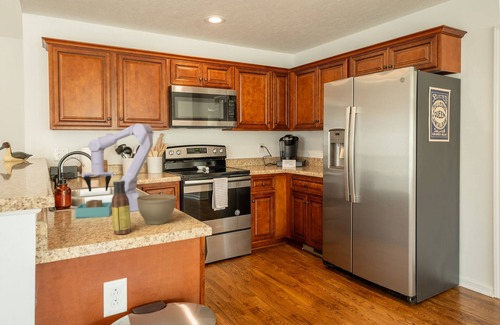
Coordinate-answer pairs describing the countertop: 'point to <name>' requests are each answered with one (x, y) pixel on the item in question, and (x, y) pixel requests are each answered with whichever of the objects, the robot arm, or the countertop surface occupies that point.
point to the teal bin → (93, 211)
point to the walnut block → (94, 203)
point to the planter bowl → (156, 207)
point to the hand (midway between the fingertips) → (98, 190)
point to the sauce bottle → (120, 209)
